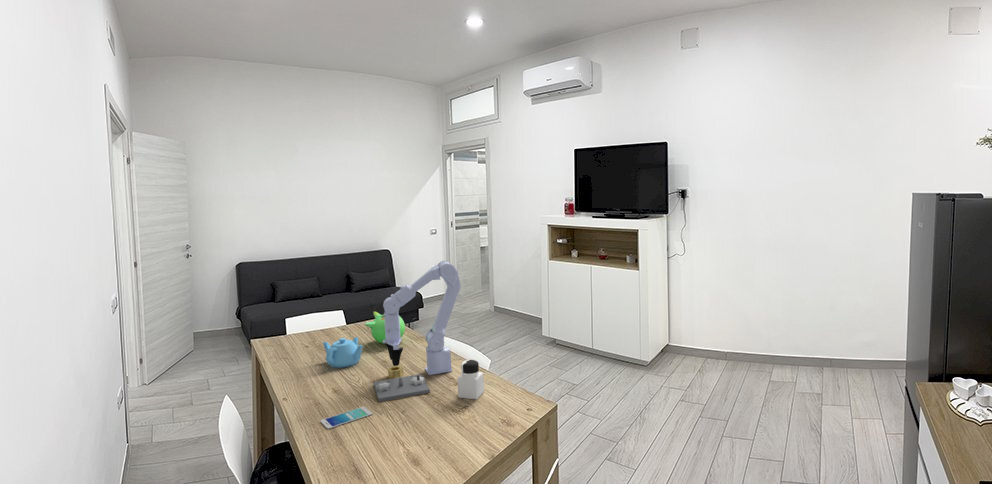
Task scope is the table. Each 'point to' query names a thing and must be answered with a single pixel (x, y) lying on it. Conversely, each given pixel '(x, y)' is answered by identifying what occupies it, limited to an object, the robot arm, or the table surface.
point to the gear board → (401, 387)
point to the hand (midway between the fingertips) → (394, 362)
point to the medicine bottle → (470, 380)
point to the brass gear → (395, 372)
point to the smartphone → (346, 417)
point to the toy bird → (382, 327)
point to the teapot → (343, 353)
